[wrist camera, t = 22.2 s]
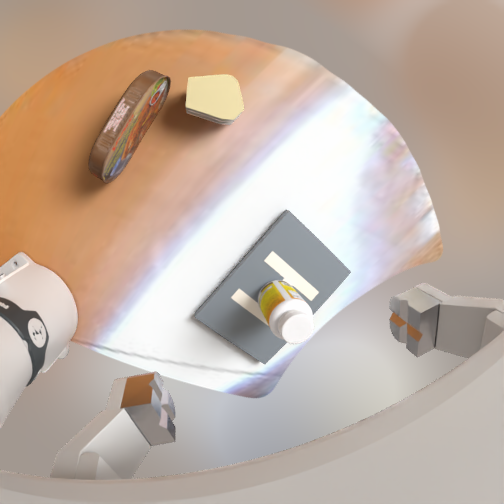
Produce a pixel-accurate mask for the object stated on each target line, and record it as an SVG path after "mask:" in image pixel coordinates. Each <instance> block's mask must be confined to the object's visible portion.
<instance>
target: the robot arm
mask: <svg viewBox="0 0 504 504" xmlns="http://www.w3.org/2000/svg"><path fill="white" fill-rule="evenodd" d="M16 262H17V265H16ZM390 310H391V311H392V312H393V314H392V316H391V318H390V329H391V332H392V334H393V336H394V337H395V339H397V340H398V341H399V342H402V343H406V348H407V349H408V350H409V351H410V352H411V353H413V354H414V355H415V356H416V357H419V356H421V355H423V354H425V353H427V352H428V351H430V350H432V349H434V348H435V349H437V350H441V351H444V352H448V353H451V354H455V355H458V356H462V357H465V358H468V359H467V360H465V361H464V362H463V363H461V364H460V365H458V366H457V367H455V368H454V369H452V370H451V371H449V372H448V373H447V374H445V375H443V376H442V377H440V378H439V379H437V380H435V381H434V382H432V383H431V384H429V385H427V386H426V387H424V388H422V389H421V390H419V391H417V392H415V393H414V394H412V395H410V396H409V397H407V398H405V399H403V400H401V401H399V402H397V403H396V404H394V405H392V406H390V407H388V408H386V409H384V410H382V411H380V412H378V413H376V414H374V415H372V416H370V417H368V418H366V419H363V420H361V421H359V422H357V423H355V424H352V425H350V426H348V427H345V428H343V429H341V430H338V431H336V432H333V433H331V434H328V435H326V436H323V437H321V438H318V439H316V440H313V441H310V442H307V443H304V444H302V445H299V446H296V447H293V448H290V449H287V450H283V451H280V452H277V453H274V454H271V455H267V456H263V457H260V458H256V459H253V460H248V461H244V462H240V463H236V464H232V465H227V466H223V467H219V468H213V469H208V470H202V471H196V472H190V473H184V474H176V475H169V476H161V477H150V478H137V479H132V477H133V476H134V474H135V472H136V471H137V469H138V468H139V466H140V465H141V463H142V461H143V460H144V458H145V457H146V455H147V454H148V452H149V450H150V449H151V446H154V445H160V444H166V443H171V442H175V426H174V424H173V422H172V421H173V420H174V418H175V407H174V403H173V400H172V398H171V395H170V393H169V392H168V391H167V390H166V389H164V388H163V380H162V378H161V376H160V374H159V373H158V372H152V373H146V374H141V375H135V376H130V377H124V378H119V379H116V380H114V382H113V385H112V388H111V392H110V395H109V399H108V402H107V406H106V409H105V411H101V412H100V413H99V414H98V415H97V416H96V417H95V418H94V419H92V421H90V422H89V423H88V424H87V425H86V426H85V427H84V428H83V429H82V430H81V431H80V432H79V433H78V434H76V435H75V436H74V437H73V438H72V439H71V440H70V441H69V442H68V443H67V444H66V445H65V446H64V447H63V448H62V449H60V450H59V451H58V453H57V456H56V459H55V462H54V466H53V469H52V472H51V475H50V477H41V476H32V475H25V474H19V473H13V472H7V471H2V470H0V504H504V299H494V298H481V297H467V296H453V297H451V296H449V295H448V294H446V293H444V292H442V291H440V290H438V289H436V288H435V287H433V286H431V285H429V284H427V283H421V284H419V285H417V286H415V287H413V288H412V289H409V290H407V291H405V292H403V293H401V294H399V295H396V296H394V297H392V298H391V299H390ZM77 322H78V314H77V308H76V304H75V301H74V299H73V296H72V294H71V292H70V290H69V289H68V287H67V286H66V284H65V283H64V282H63V281H62V280H61V278H60V277H58V276H57V275H56V274H55V273H54V272H52V271H51V270H49V269H48V268H46V267H43V266H41V265H38V264H36V263H34V262H33V261H32V260H31V259H30V258H29V257H28V256H27V255H26V254H25V253H23V252H19V253H17V254H16V255H15V256H14V257H12V258H11V259H10V260H9V261H7V262H6V263H5V264H4V265H3V266H1V267H0V428H1V426H2V425H3V423H4V421H5V420H6V417H7V416H8V414H9V413H10V411H11V409H12V408H13V406H14V404H15V403H16V401H17V399H18V398H19V396H20V394H21V393H22V391H23V390H24V388H25V387H26V386H28V385H29V384H31V383H32V381H33V380H34V379H36V377H37V376H38V375H39V373H40V372H43V373H44V372H46V371H47V370H48V369H49V368H50V367H51V365H52V364H53V363H54V362H55V361H56V360H57V359H64V358H65V357H66V356H67V355H68V352H69V342H70V340H71V338H72V337H73V335H74V333H75V331H76V328H77Z"/></svg>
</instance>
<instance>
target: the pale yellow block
mask: <svg viewBox="0 0 504 504" xmlns="http://www.w3.org/2000/svg"><path fill="white" fill-rule="evenodd" d="M243 110H244V105H243V100H242V96H241V91H240V87H239V83H238V81H237V79H236V78H234V77H233V76H231V75H227V74H224V75H210V76H198V77H189V78H188V86H187V95H186V113H187V114H191V115H194V116H197V117H200V118H203V119H206V120H209V121H212V122H215V123H218V124H225V125H231V124H232V123H233V122H234V121H235V120H236V119H237V118H238V117H239V116H240V114H241V113H242V111H243Z"/></svg>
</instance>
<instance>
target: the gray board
mask: <svg viewBox="0 0 504 504" xmlns="http://www.w3.org/2000/svg"><path fill="white" fill-rule="evenodd" d="M350 273H351V271H350V270H349V269H348V268H347V267H346V266H345V265H344V264H343V263H342V262H341V261H340V260H339V259H338V258H337V257H336V256H335V255H334V254H333V253H332V252H331V251H330V250H329V249H328V248H327V247H326V246H325V245H324V244H323V243H322V242H321V241H320V240H319V239H318V238H317V237H316V236H315V235H314V234H313V233H312V232H311V231H310V230H309V229H307V228H306V227H305V226H304V225H303V224H302V223H301V222H300V221H299V220H298V219H297V218H296V217H295V216H294V215H293V214H292V213H291V212H290V211H288V210H286V211H285V212H284V213H283V214H282V215H281V216H280V217H279V218H278V220H277V221H276V222H275V223H274V224H273V225H272V226H271V228H270V229H269V230H268V231H267V232H266V233H265V234H264V235H263V237H262V238H261V239H260V240H259V241H258V242H257V243H256V244H255V246H254V247H253V248H252V249H251V250H250V251H249V252H248V254H247V255H246V256H245V257H244V258H243V259H242V260H241V261H240V263H239V264H238V265H237V266H236V267H235V268H234V269H233V271H232V272H231V273H230V274H229V275H228V276H227V277H226V278H225V280H224V281H223V282H222V283H221V284H220V285H219V286H218V288H217V289H216V290H215V291H214V292H213V293H212V294H211V295H210V297H209V298H208V299H207V300H206V301H205V302H204V303H203V305H202V306H201V307H200V308H199V309H198V310H197V311H196V312H195V318H196V319H198V320H199V321H201V322H202V323H203V324H205V325H206V326H208V327H209V328H211V329H212V330H213V331H215V332H216V333H218V334H219V335H221V336H222V337H224V338H225V339H227V340H228V341H230V342H231V343H233V344H234V345H236V346H237V347H239V348H240V349H242V350H243V351H245V352H246V353H248V354H249V355H251V356H252V357H254V358H255V359H257V360H259V361H260V362H262V363H263V364H266V363H267V362H268V361H269V360H270V359H271V358H272V357H273V356H274V355H275V354H276V353H277V352H278V351H279V350H280V349H281V348H282V347H283V346H284V345H285V344H286V343H287V342H286V341H285V340H283V339H280V338H278V337H277V336H275V335H274V334H273V332H272V331H271V329H270V327H269V325H268V323H267V321H266V319H265V317H264V315H263V313H262V311H261V309H260V307H259V304H258V295H259V292H260V290H261V289H262V288H263V286H265V285H266V284H267V283H269V282H271V281H275V280H282V281H285V282H287V283H289V284H290V285H291V286H292V287H293V288H294V289H295V290H296V292H297V293H298V294H299V295H300V296H301V297H302V298H303V299H304V301H305V302H306V303H307V304H308V305H309V307H310V308H311V310H312V313H313V314H314V313H315V312H316V311H317V310H318V309H319V308H320V307H321V306H322V305H323V303H324V302H325V301H326V300H327V299H328V298H329V297H330V296H331V295H332V293H333V292H334V291H335V290H336V289H337V288H338V287H339V286H340V284H341V283H342V282H343V281H344V280H345V279H346V277H347V276H348V275H349V274H350Z"/></svg>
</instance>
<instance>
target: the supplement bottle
mask: <svg viewBox="0 0 504 504" xmlns="http://www.w3.org/2000/svg"><path fill="white" fill-rule="evenodd" d="M258 304H259V307H260V309H261V311H262V313H263V315H264V317H265V319H266V321H267V323H268V325H269V327H270V329H271V331H272V332H273V334H274V335H275V336H277V337H278V338H280V339H283V340H285V341H286V342H288V343H291V344H299V343H302V342H304V341H305V340H307V339H308V338H309V337H310V335H311V334H312V332H313V327H314V326H313V313H312V310H311V308H310V307H309V305H308V304H307V303H306V302H305V301H304V299H303V298H302V297H301V296H300V295H299V294H298V293H297V292H296V290H295V289H294V288H293V287H292V286H291V285H290V284H289V283H287V282H285V281H282V280H275V281H271V282H269V283H267V284H266V285H265V286H263V288H262V289H261V290H260V292H259V295H258Z"/></svg>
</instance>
